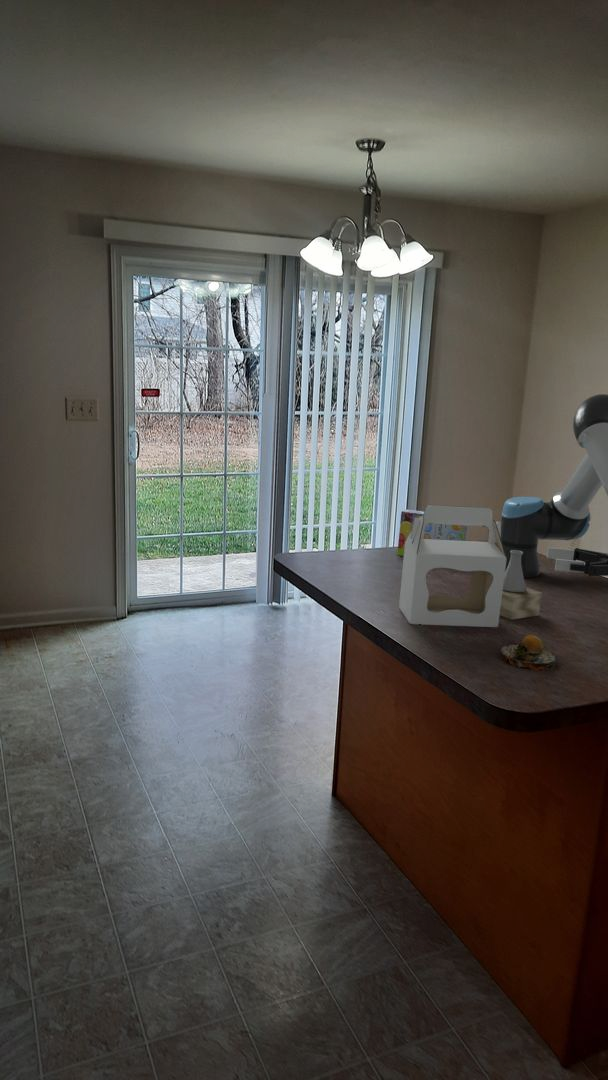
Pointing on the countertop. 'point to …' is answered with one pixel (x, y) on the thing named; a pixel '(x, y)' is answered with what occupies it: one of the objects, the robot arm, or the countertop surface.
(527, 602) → the beech box
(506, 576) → the flask
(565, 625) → the countertop surface
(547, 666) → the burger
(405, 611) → the gable box
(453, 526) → the snack box
